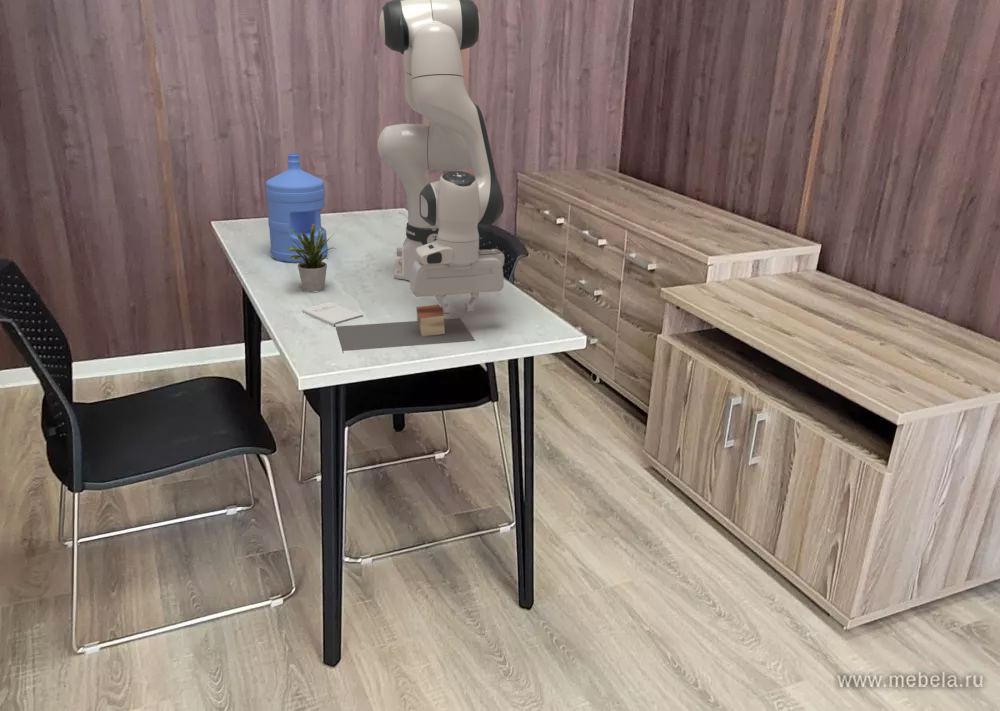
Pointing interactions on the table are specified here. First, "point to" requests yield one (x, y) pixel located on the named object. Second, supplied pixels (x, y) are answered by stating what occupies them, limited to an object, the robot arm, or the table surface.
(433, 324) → the maple block
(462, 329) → the rubber mat
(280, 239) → the water jug
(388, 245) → the table surface
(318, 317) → the external hard drive
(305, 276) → the house plant
